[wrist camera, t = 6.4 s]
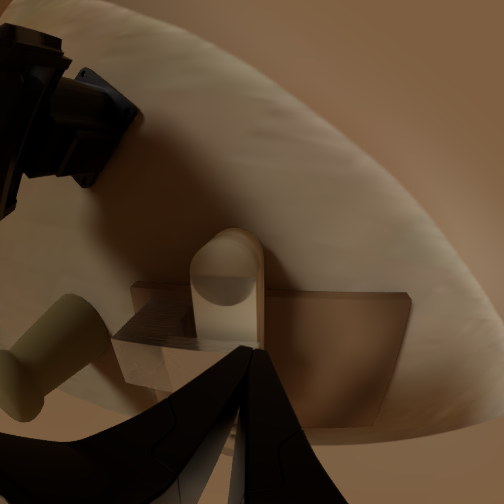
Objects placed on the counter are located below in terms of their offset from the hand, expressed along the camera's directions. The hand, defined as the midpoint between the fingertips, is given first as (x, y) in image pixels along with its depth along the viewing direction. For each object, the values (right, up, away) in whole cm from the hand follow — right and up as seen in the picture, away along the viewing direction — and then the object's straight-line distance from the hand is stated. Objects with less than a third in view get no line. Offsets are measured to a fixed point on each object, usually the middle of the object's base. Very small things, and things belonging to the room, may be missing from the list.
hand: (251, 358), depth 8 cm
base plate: (+1, -5, +11) cm, 12 cm away
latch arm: (-1, -3, +9) cm, 9 cm away
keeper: (-2, -4, +11) cm, 12 cm away
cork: (-15, -3, +13) cm, 20 cm away
